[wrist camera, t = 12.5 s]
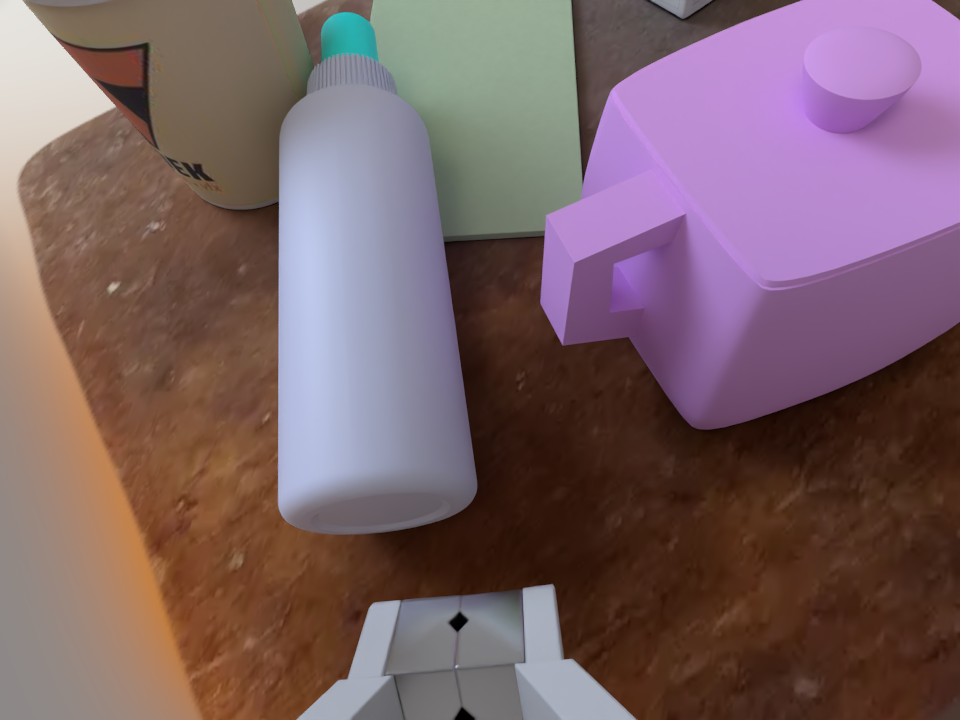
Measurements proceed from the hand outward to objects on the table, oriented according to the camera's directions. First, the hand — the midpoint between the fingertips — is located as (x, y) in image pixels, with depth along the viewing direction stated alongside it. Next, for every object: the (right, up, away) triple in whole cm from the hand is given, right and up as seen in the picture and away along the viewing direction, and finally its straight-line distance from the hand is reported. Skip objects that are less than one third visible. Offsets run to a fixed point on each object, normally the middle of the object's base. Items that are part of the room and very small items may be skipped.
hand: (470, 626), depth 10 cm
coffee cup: (-11, +15, +21) cm, 28 cm away
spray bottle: (-3, -1, +9) cm, 9 cm away
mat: (-1, +18, +21) cm, 27 cm away
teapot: (+11, +7, +14) cm, 20 cm away
